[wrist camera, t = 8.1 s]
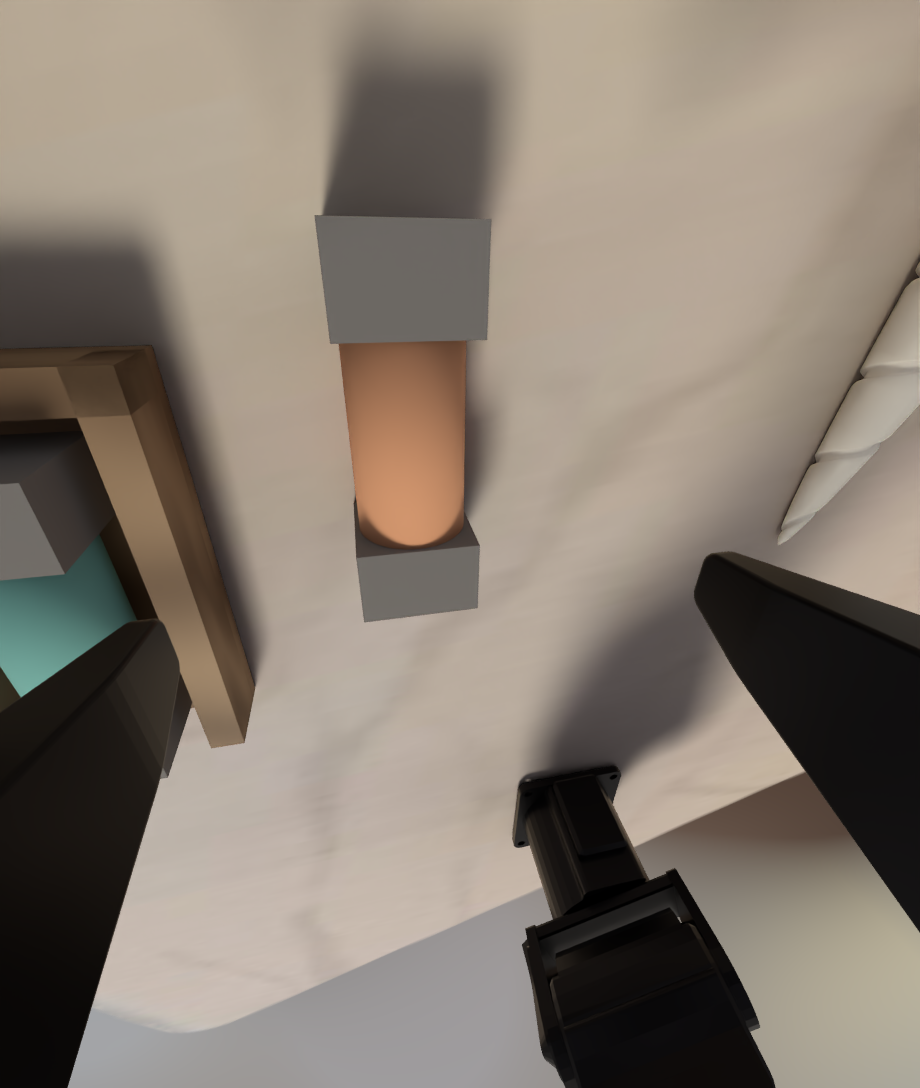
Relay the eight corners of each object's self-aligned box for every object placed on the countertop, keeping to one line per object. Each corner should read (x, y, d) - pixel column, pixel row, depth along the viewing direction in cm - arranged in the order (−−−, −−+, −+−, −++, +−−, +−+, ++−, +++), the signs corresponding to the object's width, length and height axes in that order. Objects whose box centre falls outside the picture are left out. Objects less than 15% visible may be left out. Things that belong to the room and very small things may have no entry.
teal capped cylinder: (195, 692, 20) (167, 777, 17) (91, 707, 19) (42, 798, 16) (91, 429, 14) (18, 483, 11) (-62, 437, 13) (-187, 497, 10)
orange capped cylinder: (455, 549, 20) (477, 608, 16) (360, 559, 19) (364, 622, 16) (456, 225, 14) (491, 218, 11) (321, 223, 13) (314, 215, 10)
